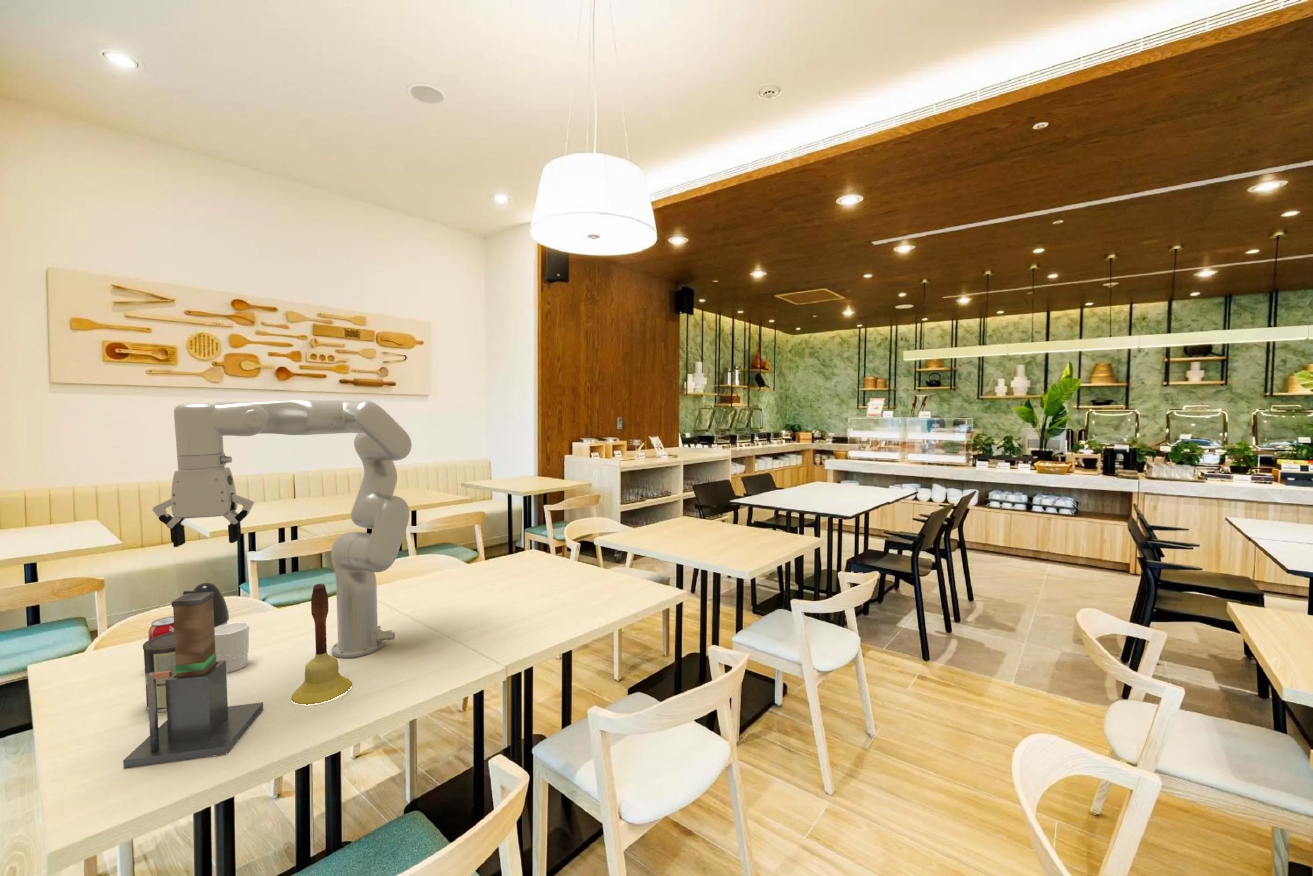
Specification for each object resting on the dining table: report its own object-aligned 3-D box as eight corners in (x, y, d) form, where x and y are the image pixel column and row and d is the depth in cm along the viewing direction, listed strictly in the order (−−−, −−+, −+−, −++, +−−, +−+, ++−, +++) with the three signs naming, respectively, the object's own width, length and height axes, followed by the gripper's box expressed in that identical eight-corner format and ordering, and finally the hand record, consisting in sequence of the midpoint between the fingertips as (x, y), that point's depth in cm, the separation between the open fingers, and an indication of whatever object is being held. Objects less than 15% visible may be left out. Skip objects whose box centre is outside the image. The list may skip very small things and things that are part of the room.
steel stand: (263, 709, 119) (260, 636, 118) (226, 754, 104) (223, 671, 103) (175, 719, 115) (171, 645, 114) (123, 768, 100) (119, 682, 99)
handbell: (297, 684, 130) (293, 580, 129) (356, 674, 135) (353, 574, 133) (284, 710, 119) (280, 597, 117) (349, 699, 123) (345, 590, 122)
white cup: (257, 663, 140) (255, 625, 140) (222, 677, 133) (220, 637, 132) (239, 657, 143) (237, 620, 143) (203, 670, 136) (202, 631, 136)
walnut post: (218, 683, 112) (214, 591, 111) (205, 695, 107) (201, 599, 106) (190, 686, 111) (185, 593, 110) (176, 698, 106) (171, 601, 105)
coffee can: (132, 712, 118) (128, 648, 117) (175, 688, 128) (173, 628, 127) (179, 713, 117) (176, 649, 117) (218, 688, 128) (216, 629, 127)
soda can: (165, 675, 134) (162, 627, 133) (142, 672, 135) (139, 624, 135) (194, 662, 141) (192, 616, 140) (172, 659, 142) (170, 614, 142)
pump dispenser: (174, 639, 154) (171, 586, 153) (215, 626, 164) (212, 575, 163) (197, 645, 151) (194, 591, 150) (237, 631, 160) (235, 579, 159)
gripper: (257, 459, 121) (262, 535, 122) (161, 462, 116) (167, 542, 117) (242, 463, 114) (248, 544, 115) (139, 466, 109) (146, 552, 110)
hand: (207, 543), depth 116 cm, fingers open, 9 cm apart
